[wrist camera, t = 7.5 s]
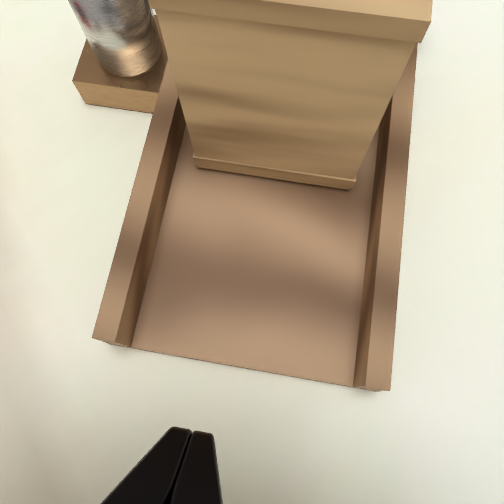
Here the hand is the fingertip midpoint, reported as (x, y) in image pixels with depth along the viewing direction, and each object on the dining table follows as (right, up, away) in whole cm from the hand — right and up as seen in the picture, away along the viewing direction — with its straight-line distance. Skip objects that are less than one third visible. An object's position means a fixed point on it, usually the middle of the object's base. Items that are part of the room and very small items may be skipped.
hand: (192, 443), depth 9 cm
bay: (+2, +8, +16) cm, 18 cm away
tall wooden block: (+3, +11, +16) cm, 20 cm away
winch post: (-6, +14, +18) cm, 23 cm away
